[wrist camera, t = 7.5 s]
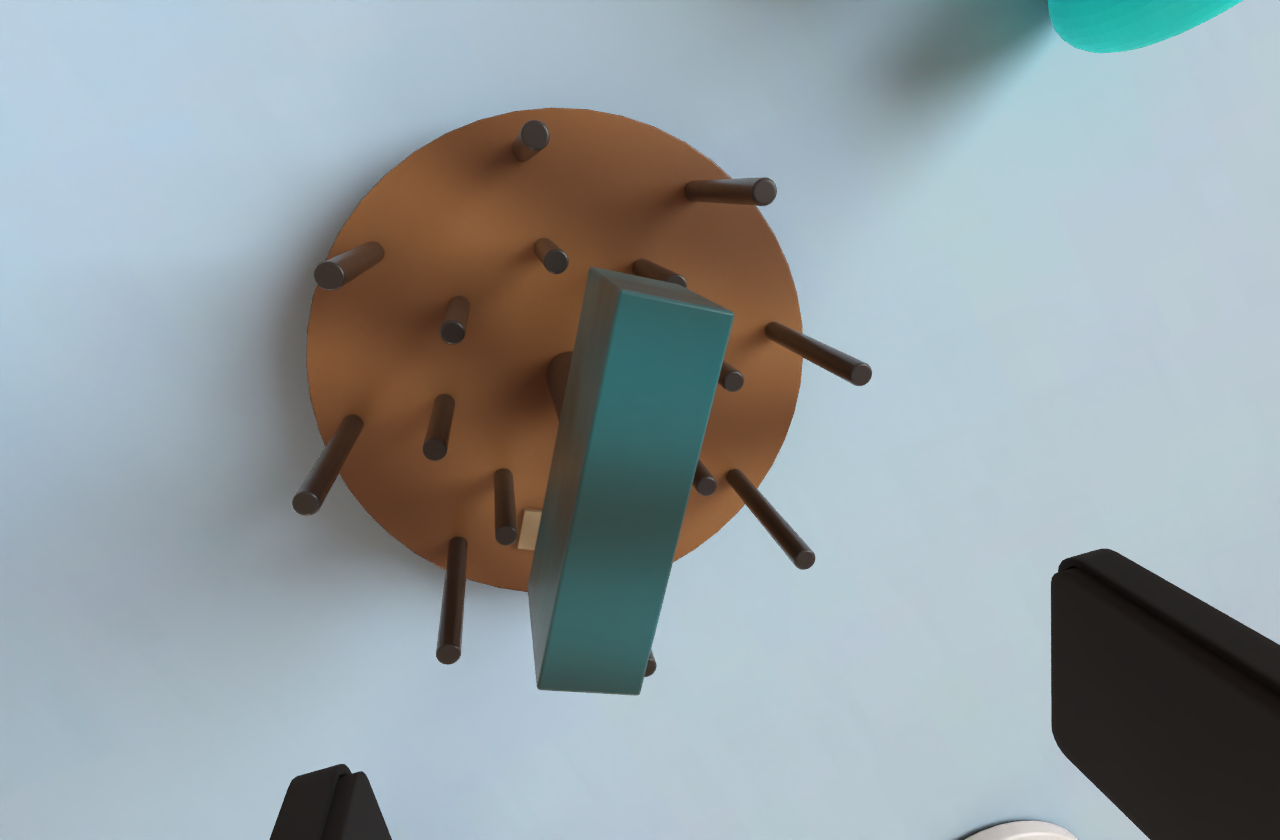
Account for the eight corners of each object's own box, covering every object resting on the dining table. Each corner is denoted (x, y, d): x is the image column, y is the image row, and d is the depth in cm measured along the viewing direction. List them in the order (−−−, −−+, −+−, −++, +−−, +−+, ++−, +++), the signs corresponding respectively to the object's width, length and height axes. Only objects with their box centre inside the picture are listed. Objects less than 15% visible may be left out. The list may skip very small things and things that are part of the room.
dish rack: (340, 46, 23) (170, -116, 11) (848, 178, 27) (1136, 169, 15) (290, 557, 27) (132, 850, 15) (731, 599, 32) (880, 852, 20)
